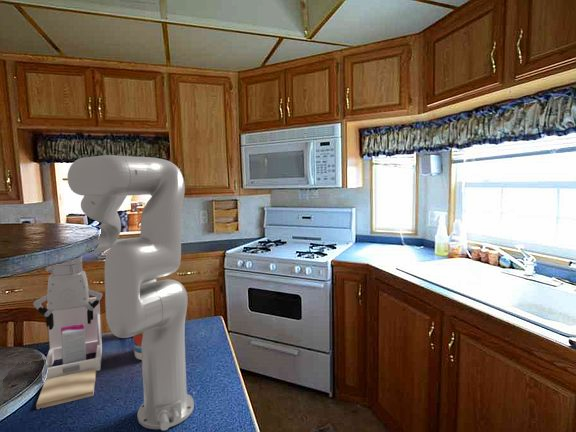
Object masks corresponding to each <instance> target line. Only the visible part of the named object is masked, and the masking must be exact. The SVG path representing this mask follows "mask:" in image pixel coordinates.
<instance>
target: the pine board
mask: <svg viewBox="0 0 576 432" xmlns="http://www.w3.org/2000/svg"><path fill="white" fill-rule="evenodd" d="M96 376H97V371H96V369H93V370H88V371H83V372H79V373H74V374H69V375H65V376H60V377H55V378H51V379H46V380H45V382H44V383H43V386H42V388H41V390H40V394H39V396H38V399H37V401H36V404H35V407H36V409H37V410H40V408H41V409H44V408H49V407H54V406H57V405H62V404H64V403H65V404H66V403H69V402H72V401H73V402H74V401H77V400H82V399H85V398H89V397H93V396H94V393H95V384H96Z"/></svg>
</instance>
